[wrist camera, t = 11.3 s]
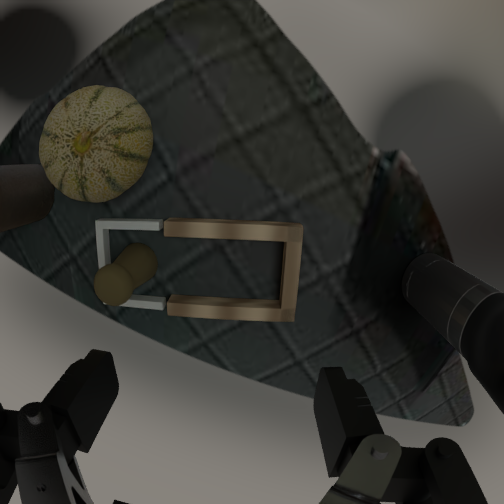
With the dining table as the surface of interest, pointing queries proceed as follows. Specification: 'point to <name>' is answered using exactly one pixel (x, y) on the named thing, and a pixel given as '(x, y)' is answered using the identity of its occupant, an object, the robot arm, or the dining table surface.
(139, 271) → the olive gourd
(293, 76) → the dining table surface
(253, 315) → the oak channel
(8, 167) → the pillar candle
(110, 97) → the cantaloupe
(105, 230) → the grey u-shaped staple
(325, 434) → the robot arm
